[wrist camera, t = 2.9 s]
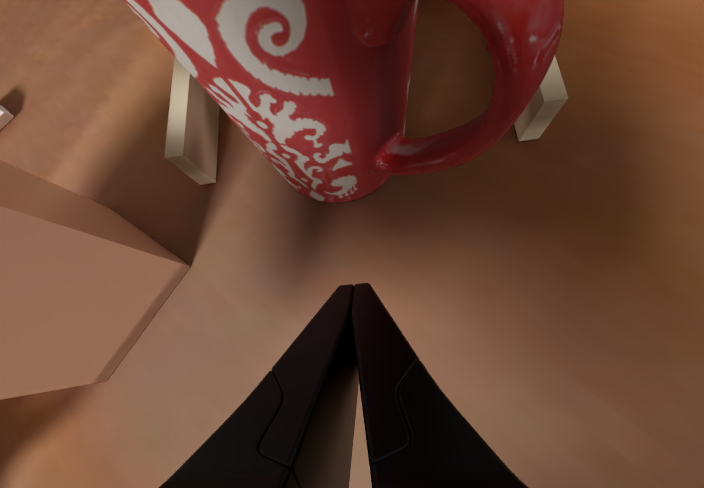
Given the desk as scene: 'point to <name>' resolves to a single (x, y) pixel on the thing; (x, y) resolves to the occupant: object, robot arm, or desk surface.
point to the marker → (4, 117)
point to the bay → (203, 112)
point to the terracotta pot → (71, 286)
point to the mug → (347, 80)
